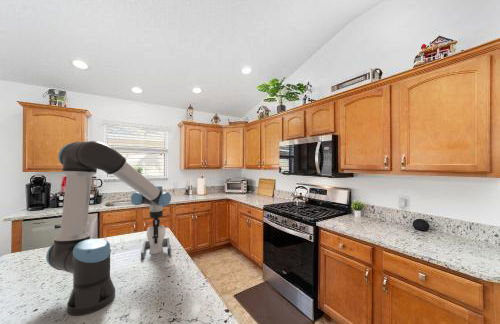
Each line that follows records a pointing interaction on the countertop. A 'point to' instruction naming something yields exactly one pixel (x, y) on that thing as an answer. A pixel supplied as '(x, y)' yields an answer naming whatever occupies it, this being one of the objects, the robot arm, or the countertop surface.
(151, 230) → the cup
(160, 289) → the countertop surface
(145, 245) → the channel
